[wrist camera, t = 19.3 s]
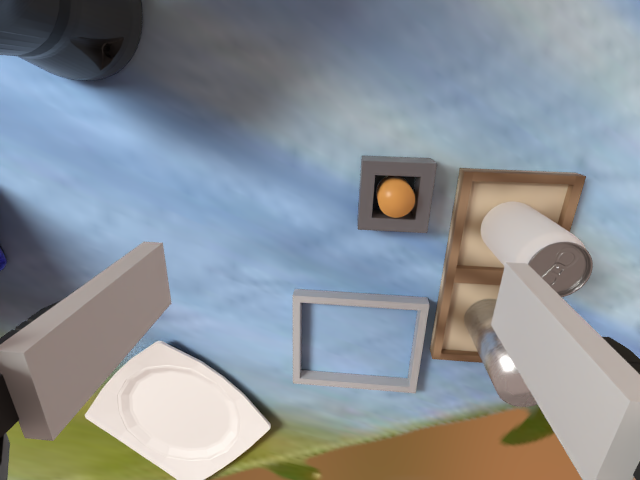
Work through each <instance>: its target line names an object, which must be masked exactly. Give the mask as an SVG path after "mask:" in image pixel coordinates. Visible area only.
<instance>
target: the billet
mask: <svg viewBox="0 0 640 480" xmlns="http://www.w3.org/2000/svg"><path fill="white" fill-rule="evenodd" d="M496 301H497V299H483V300H480V301H477V302H475V303H474V304H472V305H471V306H470V307H469V308H468V310H467V311H466V313H465V316H464V323H465V326H466V328H467V330H468V332H469V335H470V337H471V339H472V341H473V343H474V345H475V347H476V349H477V351H478V353H479V355H480V358H481V360H482V362H483V364H484V366H485V368H486V370H487V372H488V374H489V376H490V378H491V381H492V383H493V385H494V387H495V389H496V391H497V393H498V395H499V396H500V398H501V399H502V400H503V401H505V402H506V403H508V404H511V405H514V406H520V407H526V406H533V405H537V402H536V400H535V399H534V397H533V395H532V394H531V392H530V390H529V388H528V387H527V385H526V383H525V382H524V380H523V378H522V377H521V375H520V373H519V372H518V370H517V368H516V367H515V365H514V363H513V361H512V360H511V358H510V356H509V355H508V353H507V351H506V350H505V348H504V346H503V345H502V343H501V341H500V339H499V338H498V336H497V334H496V333H495V331H494V329H493V328H492V326H491V322H492V318H493V314H494V310H495V305H496Z"/></svg>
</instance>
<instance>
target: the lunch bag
mask: <svg viewBox="0 0 640 480" xmlns="http://www.w3.org/2000/svg"><path fill="white" fill-rule="evenodd" d="M6 263H7V260H6V258H5V256H4V254H3V252H2V250H1V248H0V271H1V270H3V269H4V267H5V266H6Z"/></svg>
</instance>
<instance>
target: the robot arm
mask: <svg viewBox="0 0 640 480" xmlns="http://www.w3.org/2000/svg"><path fill="white" fill-rule="evenodd" d="M141 30H142V5H141V0H0V55H10V56H18V57H20V58H22V59H24V60H26V61H28V62H30V63H32V64H34V65H36V66H38V67H40V68H41V69H43V70H45V71H47V72H49V73H52V74H54V75H57V76H60V77H64V78H68V79H76V80H99V79H103V78H107V77H109V76H111V75H113V74H115V73H117V72H118V71H120V70H121V69H122V68H123V67H124V66H125V65H126V64H127V63H128V62H129V60H130V59H131V58H132V56H133V54H134V52H135V50H136V48H137V46H138V43H139V40H140V35H141ZM170 304H171V297H170V290H169V283H168V277H167V270H166V263H165V256H164V249H163V243H156V242H143V243H142V244H140V245H139V246H137V247H136V248H135V249H133V250H132V251H130V252H129V253H128V254H126V255H125V256H123V257H122V258H121V259H119V260H118V261H116V262H115V263H114V264H112V265H111V266H109V267H108V268H107V269H105V270H104V271H102V272H101V273H100V274H98V275H97V276H95V277H94V278H93V279H91V280H90V281H88V282H87V283H86V284H84V285H83V286H81V287H80V288H79V289H77V290H76V291H74V292H73V293H72V294H70V295H69V296H67V297H66V298H65V299H63V300H62V301H59V302H57V303H55V304H52V305H50V306H48V307H46V308H43V309H41V310H40V311H39V312H37V313H36V314H34V315H33V316H31V317H30V318H29V319H28V320H27V321H24V322H23V323H21V324H20V325H19V326H17V327H16V329H15V330H11V331H10V332H8V333H7V334H6V335H4V336H3V337H1V338H0V480H7V476H8V462H9V447H10V443H9V440H8V437H7V434H6V432H7V431H8V430H9V429H10V428H11V427H12V426H13V425H14V424H15V423H16V422H17V421H19V424H20V426H21V429H22V432H23V434H24V437H25V438H31V439H41V440H52V441H53V440H54V439H55V438H56V437H57V436H58V434H59V433H60V432H61V431H62V430H63V429H64V427H65V426H66V425H67V424H68V423H69V422H70V420H71V419H72V418H73V417H74V416H75V415H76V413H77V412H78V411H79V410H80V409H81V408H82V406H83V405H84V404H85V403H86V402H87V401H88V400H89V398H90V397H91V396H92V395H93V394H94V393H95V391H96V390H97V389H98V388H99V387H100V386H101V384H102V383H103V382H104V381H105V380H106V379H107V377H108V376H109V375H110V374H111V373H112V372H113V370H114V369H115V368H116V367H117V366H118V365H119V364H120V362H121V361H122V360H123V359H124V358H125V357H126V355H127V354H128V353H129V352H130V351H131V350H132V348H133V347H134V346H135V345H136V344H137V343H138V341H139V340H140V339H141V338H142V337H143V336H144V334H145V333H146V332H147V331H148V330H149V329H150V328H151V326H152V325H153V324H154V323H155V322H156V321H157V319H158V318H159V317H160V316H161V315H162V314H163V312H164V311H165V310H166V309H167V308H168V307H169V305H170ZM491 326H492V328H493V329H494V331H495V333H496V334H497V336H498V338H499V339H500V341H501V343H502V345H503V346H504V348H505V350H506V351H507V353H508V355H509V356H510V358H511V360H512V361H513V363H514V365H515V367H516V368H517V370H518V372H519V373H520V375H521V377H522V378H523V380H524V382H525V383H526V385H527V387H528V388H529V390H530V392H531V394H532V395H533V397H534V399H535V400H536V402H537V404H538V405H539V407H540V409H541V410H542V412H543V414H544V416H545V417H546V419H547V421H548V422H549V424H550V426H551V427H552V429H553V431H554V432H555V434H556V436H557V437H558V439H559V441H560V443H561V444H562V446H563V448H564V449H565V451H566V453H567V454H568V456H569V458H570V460H571V461H572V463H573V465H574V466H575V468H576V470H577V471H578V473H579V475H580V476H581V478H582V480H633V478H634V477H635V479H636V480H640V359H639V358H638V357H637V356H636V355H635V354H634V353H633V352H632V351H630V350H629V349H628V348H626V347H625V346H623V345H621V344H620V343H618V342H616V341H615V340H613V339H611V338H610V337H601V336H600V335H599V334H598V333H597V332H596V331H595V330H594V329H593V328H592V327H591V326H590V325H589V324H588V323H587V322H586V321H585V320H584V319H583V318H582V317H581V316H580V315H579V314H578V313H577V312H576V311H575V310H574V309H573V308H572V307H571V306H570V305H569V304H568V303H567V302H566V301H565V300H564V299H563V298H562V297H561V296H560V295H559V294H558V293H557V292H556V291H554V290H553V289H552V288H551V287H550V286H549V285H548V284H547V283H546V282H545V281H544V280H543V279H542V278H541V277H540V276H539V275H538V274H537V273H536V272H535V271H534V270H533V269H532V268H531V267H530V266H529V265H528V264H527V263H510V262H506V263H505V267H504V271H503V276H502V280H501V284H500V288H499V293H498V297H497V301H496V305H495V310H494V314H493V318H492V322H491Z"/></svg>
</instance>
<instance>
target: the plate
mask: <svg viewBox="0 0 640 480" xmlns="http://www.w3.org/2000/svg"><path fill="white" fill-rule="evenodd" d="M85 417H86V419H88V420H89V421H91V422H92V423H94V424H95V425H97V426H98V427H100V428H102V429H103V430H105V431H106V432H108V433H109V434H111V435H112V436H114V437H115V438H117V439H118V440H120V441H121V442H123V443H124V444H126V445H127V446H129V447H130V448H132V449H133V450H134V451H136V452H137V453H139V454H140V455H142V456H143V457H145V458H146V459H148V460H149V461H151V462H152V463H154V464H155V465H157V466H158V467H160V468H161V469H163V470H164V471H166V472H167V473H169V474H170V475H171V476H173V477H174V478H176V479H177V480H204V479H206V478H208V477H209V476H211V475H212V474H214V473H216V472H217V471H219V470H220V469H222V468H223V467H225V466H226V465H227V464H229V463H230V462H232V461H233V460H235V459H236V458H237V457H238V456H240V455H241V454H242V453H244V452H245V451H246V450H247V449H249V448H250V447H251V446H252V445H253V444H254V443H255V442H256V441H257V440H259V439H260V438H261V437H262V436H263V435H264V434H265V433H266V432H267V431H268V430H269V429H270V428H271V424H270V423H269V421H268V420H267V419H266V418H265V417H264V416H263V415H262V414H261V412H260V411H259V410H258V409H257V408H256V407H255V406H254V405H253V403H252V402H251V401H250V400H249V399H248V398H247V397H246V396H245V394H244V393H243V392H241V391H240V390H239V389H238V388H237V387H236V386H234V385H233V384H232V383H231V382H230V381H228V380H227V379H226V378H225V377H224V376H222V375H221V374H219V373H218V372H217V371H215V370H214V369H212V368H211V367H209V366H208V365H207V364H205V363H204V362H202V361H201V360H199V359H197V358H195V357H193V356H191V355H189V354H187V353H185V352H183V351H181V350H178V349H176V348H174V347H172V346H170V345H169V344H167V343H165V342H163V341H157V342H155V343H154V344H152V345H151V346H149V347H148V348H146V349H145V350H143V351H142V352H140V353H139V354H137V355H136V356H134V357H133V358H131V359H130V360H129V361H128V362H127V363H126V364H125V365H124V366H123V367H122V368H120V369H119V370H118V371H117V372H116V373H115V374H114V376H113V377H112V378H111V379H110V380H109V381H108V383H107V384H106V385H105V386H104V387H103V389H102V390H101V392H100V393H99V395H98V396H97V398H96V399H95V401H94V402H93V404H92V405H91V407H90V408H89V410H88V411H87V413H86V414H85Z"/></svg>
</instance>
